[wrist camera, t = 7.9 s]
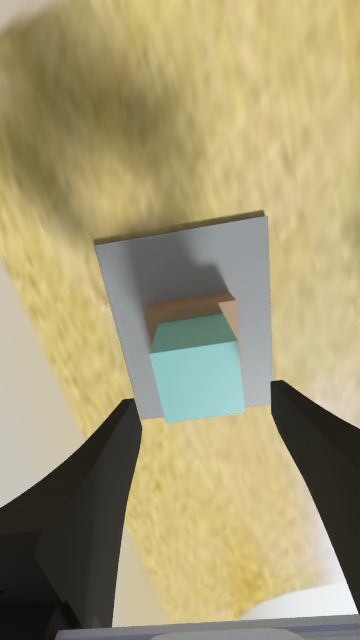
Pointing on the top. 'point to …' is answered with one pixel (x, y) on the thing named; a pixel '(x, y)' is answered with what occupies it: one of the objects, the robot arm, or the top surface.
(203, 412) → the teal block
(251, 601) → the top surface
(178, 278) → the build base
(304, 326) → the top surface
